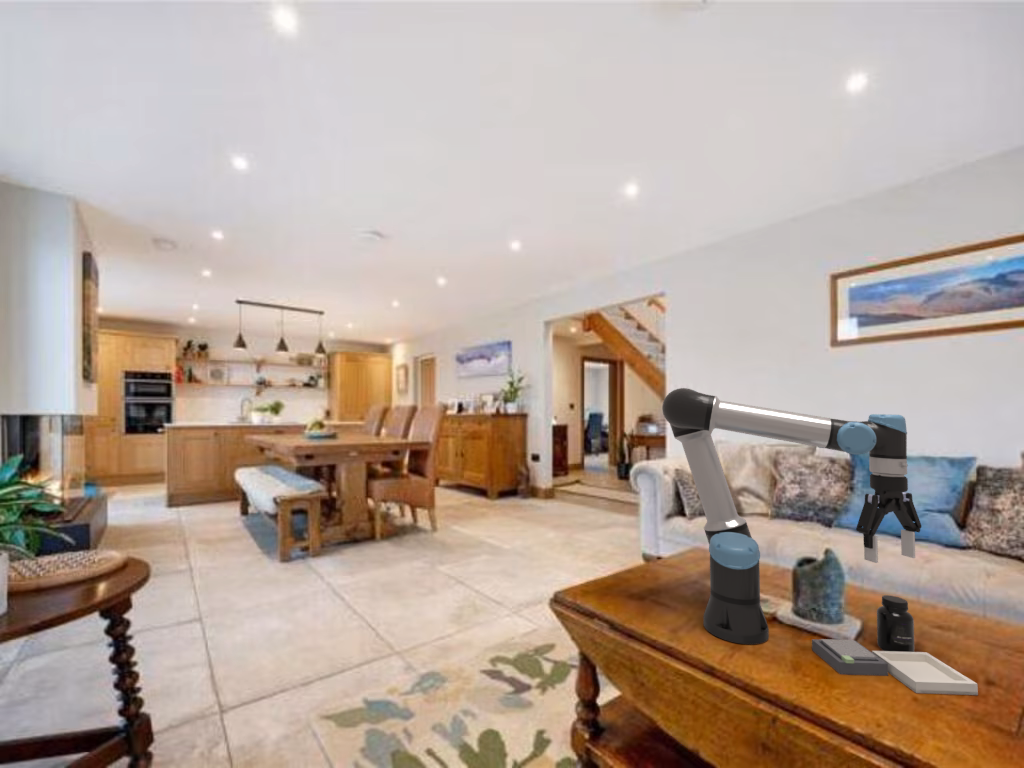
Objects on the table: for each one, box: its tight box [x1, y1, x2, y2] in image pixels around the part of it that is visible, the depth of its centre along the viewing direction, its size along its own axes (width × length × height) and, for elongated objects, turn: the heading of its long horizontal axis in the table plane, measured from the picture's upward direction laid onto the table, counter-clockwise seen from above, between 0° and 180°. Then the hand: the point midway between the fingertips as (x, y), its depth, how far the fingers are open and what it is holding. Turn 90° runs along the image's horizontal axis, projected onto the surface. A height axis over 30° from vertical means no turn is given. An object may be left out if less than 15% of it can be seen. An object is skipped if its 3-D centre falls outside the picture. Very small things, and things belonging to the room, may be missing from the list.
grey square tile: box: [820, 638, 877, 661], centre depth 105 cm, size 7×7×1 cm
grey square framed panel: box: [811, 638, 889, 677], centre depth 104 cm, size 10×10×3 cm
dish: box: [871, 650, 979, 696], centre depth 99 cm, size 12×12×2 cm
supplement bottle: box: [876, 594, 915, 652], centre depth 110 cm, size 7×7×12 cm
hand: (890, 558), depth 117 cm, fingers open, 13 cm apart
